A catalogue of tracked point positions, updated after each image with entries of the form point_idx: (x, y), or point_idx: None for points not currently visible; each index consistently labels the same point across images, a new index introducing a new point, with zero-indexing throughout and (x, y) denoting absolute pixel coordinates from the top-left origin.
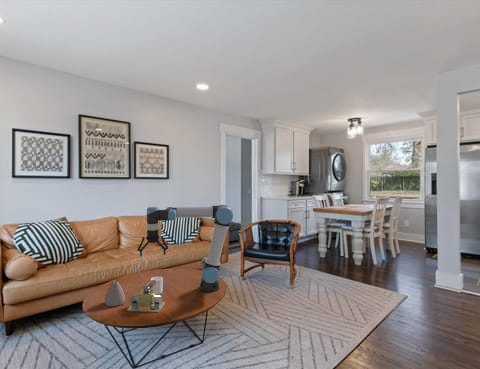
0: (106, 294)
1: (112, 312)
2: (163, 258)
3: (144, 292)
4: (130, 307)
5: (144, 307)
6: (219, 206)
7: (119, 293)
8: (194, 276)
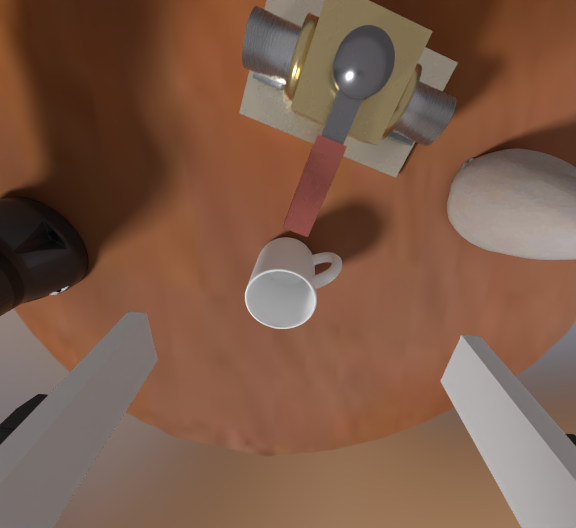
0: None
1: (536, 67)
2: (119, 328)
3: None
4: (435, 86)
5: None
6: None
7: (525, 173)
8: None
